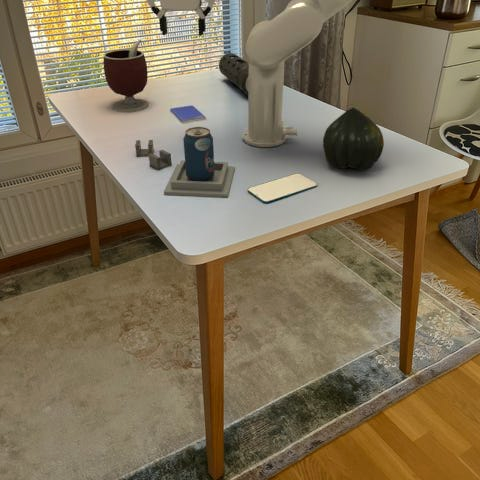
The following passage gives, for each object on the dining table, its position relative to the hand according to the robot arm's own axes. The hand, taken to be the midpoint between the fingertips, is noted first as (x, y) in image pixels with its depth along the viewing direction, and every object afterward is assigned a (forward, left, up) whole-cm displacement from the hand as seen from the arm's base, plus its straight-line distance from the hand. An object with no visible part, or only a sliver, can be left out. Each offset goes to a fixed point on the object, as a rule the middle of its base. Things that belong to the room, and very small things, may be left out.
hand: (183, 34), depth 126 cm
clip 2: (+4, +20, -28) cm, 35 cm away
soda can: (-8, +28, -28) cm, 40 cm away
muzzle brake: (-11, -48, -29) cm, 57 cm away
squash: (-45, +15, -29) cm, 55 cm away
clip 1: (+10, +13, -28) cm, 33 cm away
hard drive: (+4, -18, -29) cm, 34 cm away
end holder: (-8, +28, -28) cm, 41 cm away
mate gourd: (+25, -26, -28) cm, 46 cm away
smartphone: (-28, +30, -29) cm, 50 cm away
